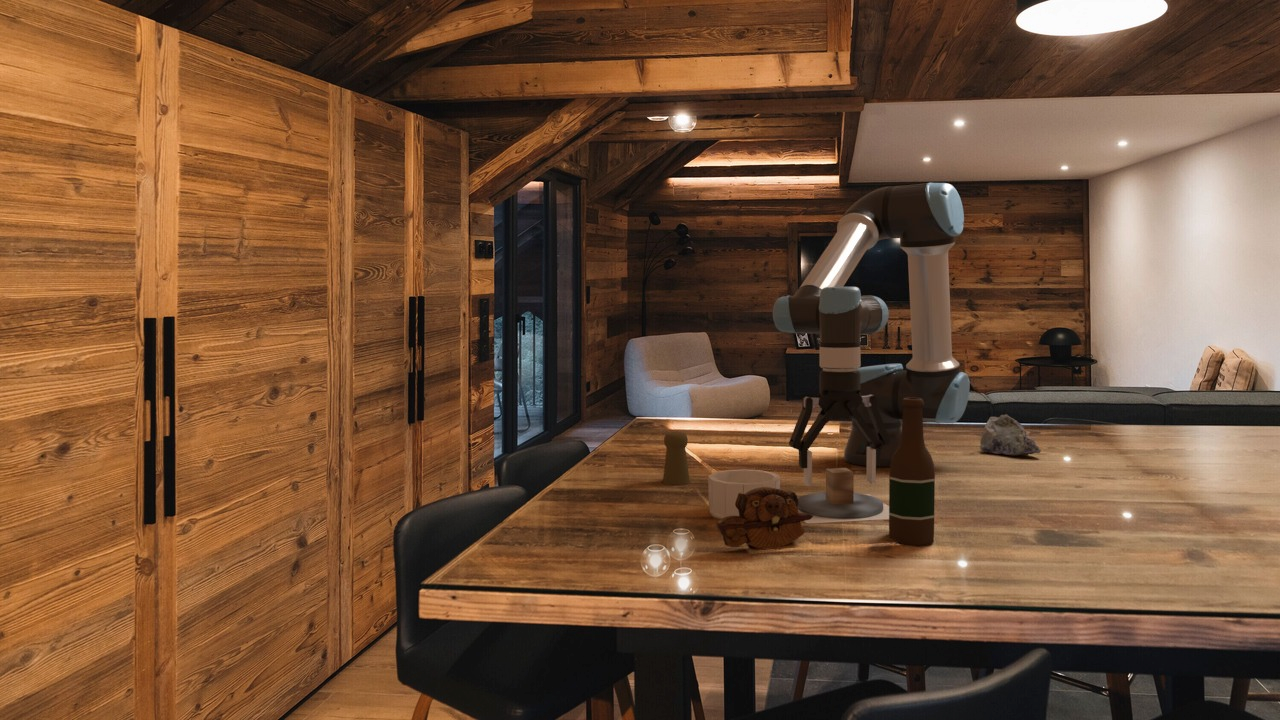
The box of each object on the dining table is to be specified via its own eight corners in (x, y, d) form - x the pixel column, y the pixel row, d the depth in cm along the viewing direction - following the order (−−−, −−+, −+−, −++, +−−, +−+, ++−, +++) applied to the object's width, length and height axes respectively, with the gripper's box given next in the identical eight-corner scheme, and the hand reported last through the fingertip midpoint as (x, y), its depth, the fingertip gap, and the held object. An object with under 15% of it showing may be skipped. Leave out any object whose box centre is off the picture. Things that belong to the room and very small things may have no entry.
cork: (687, 485, 198) (687, 435, 197) (660, 484, 200) (659, 434, 199) (692, 479, 204) (691, 430, 203) (665, 478, 205) (664, 430, 205)
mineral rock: (1043, 460, 220) (1044, 418, 219) (1000, 461, 219) (1000, 419, 218) (1016, 450, 233) (1017, 410, 232) (975, 451, 232) (976, 411, 231)
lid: (863, 496, 184) (863, 460, 183) (897, 516, 168) (897, 477, 167) (786, 500, 181) (785, 464, 181) (812, 520, 166) (812, 481, 165)
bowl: (768, 503, 182) (768, 468, 181) (787, 520, 169) (787, 482, 168) (703, 506, 180) (703, 471, 179) (717, 523, 167) (717, 485, 166)
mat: (868, 497, 185) (868, 494, 185) (908, 521, 166) (908, 518, 166) (776, 501, 183) (776, 498, 183) (806, 526, 164) (806, 523, 164)
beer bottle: (880, 534, 158) (881, 396, 156) (924, 533, 159) (926, 394, 157) (897, 547, 150) (898, 401, 148) (943, 545, 151) (945, 400, 149)
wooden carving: (727, 558, 146) (726, 496, 145) (714, 550, 151) (714, 490, 150) (817, 546, 152) (817, 487, 151) (803, 539, 156) (803, 481, 155)
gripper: (893, 365, 178) (892, 476, 179) (771, 369, 174) (772, 482, 176) (909, 369, 170) (908, 484, 172) (783, 373, 167) (783, 490, 169)
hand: (839, 483), depth 174 cm, fingers open, 12 cm apart
